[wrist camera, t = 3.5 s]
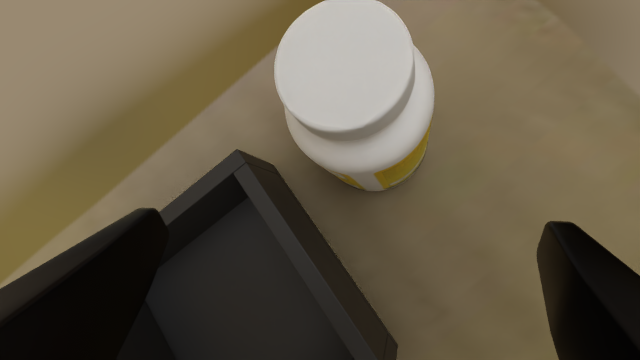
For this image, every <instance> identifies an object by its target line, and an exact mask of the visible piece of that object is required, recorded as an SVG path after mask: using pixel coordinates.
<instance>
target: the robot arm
mask: <svg viewBox="0 0 640 360" xmlns="http://www.w3.org/2000/svg"><path fill="white" fill-rule="evenodd" d="M168 240H169V229H168V228H167V226H166V224H165V222H164V221H163V219H162V217H161V215H160V214H159V212H158V211H157V210H156V209H154V208H139V209H137V210H135V211H133V212H131V213H130V214H128V215H126V216H125V217H123V218H121V219H119V220H118V221H116V222H114V223H113V224H111V225H109V226H107V227H106V228H104V229H102V230H100V231H99V232H97V233H95V234H94V235H92V236H90V237H88V238H87V239H85V240H83V241H82V242H80V243H78V244H76V245H75V246H73V247H71V248H70V249H68V250H66V251H64V252H63V253H61V254H59V255H58V256H56V257H54V258H52V259H51V260H49V261H47V262H46V263H44V264H42V265H40V266H39V267H37V268H35V269H34V270H32V271H30V272H28V273H27V274H25V275H23V276H22V277H20V278H18V279H16V280H15V281H13V282H11V283H10V284H8V285H6V286H4V287H3V288H1V289H0V360H116V358H117V356H118V354H119V352H120V350H121V348H122V346H123V344H124V342H125V340H126V338H127V336H128V334H129V332H130V330H131V328H132V325H133V323H134V321H135V319H136V317H137V315H138V313H139V311H140V309H141V307H142V305H143V303H144V301H145V299H146V297H147V295H148V292H149V290H150V288H151V285H152V283H153V280H154V277H155V275H156V272H157V269H158V267H159V264H160V261H161V259H162V256H163V253H164V251H165V248H166V245H167V243H168ZM537 262H538V268H539V273H540V279H541V284H542V290H543V295H544V300H545V306H546V311H547V317H548V322H549V327H550V331H551V335H552V338H553V342H554V345H555V348H556V352H557V355H558V358H559V360H640V276H639V275H638V274H637V273H636V272H634V271H633V270H632V269H631V268H629V267H628V266H627V265H626V264H624V263H623V262H622V261H621V260H619V259H618V258H617V257H616V256H614V255H613V254H612V253H611V252H609V251H608V250H607V249H606V248H604V247H603V246H602V245H601V244H599V243H598V242H597V241H596V240H594V239H593V238H592V237H591V236H589V235H588V234H587V233H586V232H584V231H583V230H582V229H581V228H579V227H578V226H577V225H575V224H574V223H572V222H564V221H550V222H548V223H547V224H546V225H545V227H544V230H543V233H542V236H541V239H540V242H539V245H538V248H537Z"/></svg>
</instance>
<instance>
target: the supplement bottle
mask: <svg viewBox="0 0 640 360" xmlns="http://www.w3.org/2000/svg"><path fill="white" fill-rule="evenodd" d="M274 78H275V84H276V88H277V92H278V94H279V97H280V99H281V101H282V103H283V104H284V109H285V116H286V121H287V125H288V128H289V131H290V133H291V135H292V137H293V139H294V141H295V142H296V144H297V145H298V146H299V148H300V149H301V150H302V151H303V152H304V153H305V154H306V155H307V156H308V157H309V158H310V159H311V160H313V161H314V162H315V163H317V164H318V165H320V166H321V167H323V168H324V169H326V170H327V171H329V172H330V173H332V174H333V175H335V176H336V177H337V178H339V179H340V180H342V181H343V182H345V183H347V184H348V185H350V186H352V187H355V188H358V189H361V190H366V191H383V190H388V189H391V188H394V187H396V186H398V185H400V184H402V183H403V182H405V181H406V180H407V179H409V178H410V177H411V176H412V175H413V174H414V173H415V171H416V170H417V169H418V167H419V166H420V164H421V162H422V160H423V158H424V155H425V152H426V148H427V143H428V136H429V131H430V126H431V120H432V116H433V110H434V85H433V80H432V75H431V72H430V69H429V66H428V64H427V62H426V60H425V59H424V57H423V56H422V54H421V53H420V51H419V50H418V49H417V48H416V47H415V46H414V45H413V43H412V39H411V36H410V33H409V31H408V29H407V27H406V26H405V24H404V23H403V21H402V19H401V18H400V17H399V16H398V15H397V14H396V13H395V12H394V11H393V10H392V9H390V8H389V7H387V6H386V5H384V4H382V3H381V2H378V1H376V0H326V1H323V2H321V3H319V4H317V5H315V6H313V7H311V8H310V9H308V10H307V11H306V12H304V13H303V14H302V15H300V16H299V17H298V18H297V19H296V20H295V21H294V22H293V23H292V24H291V26H290V27H289V28H288V30H287V32H286V33H285V34H284V36H283V38H282V40H281V42H280V45H279V47H278V50H277V54H276V57H275V64H274Z"/></svg>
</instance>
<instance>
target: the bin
mask: <svg viewBox="0 0 640 360" xmlns="http://www.w3.org/2000/svg"><path fill="white" fill-rule="evenodd" d="M159 214H160V215H161V217H162V219H163V221H164V222H165V224H166V226H167V228H168V229H169V240H168V243H167V245H166V248H165V251H164V253H163V256H162V259H161V261H160V264H159V267H158V269H157V272H156V275H155V277H154V280H153V283H152V285H151V288H150V290H149V292H148V295H147V297H146V299H145V301H144V303H143V305H142V307H141V309H140V311H139V313H138V315H137V317H136V319H135V321H134V323H133V325H132V328H131V330H130V332H129V334H128V336H127V338H126V340H125V342H124V344H123V346H122V348H121V350H120V352H119V354H118V356H117V358H116V360H396V356H397V348H398V345H397V343H396V342H395V340H394V339H393V337H392V336H391V334H390V333H389V332H388V330H387V329H386V327H385V326H384V324H383V323H382V321H381V320H380V319H379V317H378V316H377V314H376V313H375V311H374V310H373V308H372V307H371V306H370V304H369V303H368V301H367V300H366V298H365V297H364V295H363V294H362V293H361V291H360V290H359V288H358V287H357V285H356V284H355V282H354V281H353V279H352V278H351V277H350V275H349V274H348V272H347V271H346V269H345V268H344V266H343V265H342V264H341V262H340V261H339V259H338V258H337V256H336V255H335V253H334V252H333V251H332V249H331V248H330V246H329V245H328V243H327V242H326V240H325V239H324V238H323V236H322V235H321V233H320V232H319V230H318V229H317V227H316V226H315V225H314V223H313V222H312V220H311V219H310V217H309V216H308V214H307V213H306V212H305V210H304V209H303V207H302V206H301V204H300V203H299V201H298V200H297V199H296V197H295V196H294V194H293V193H292V191H291V190H290V188H289V187H288V185H287V184H286V183H285V181H284V180H283V178H282V177H281V175H280V174H279V172H278V171H277V170H276V168H275V167H274V165H272V164H270V163H268V162H265V161H263V160H261V159H259V158H256V157H254V156H252V155H249V154H247V153H245V152H242V151H240V150H238V149H237V150H235V151H234V152H233V153H232V154H230V155H229V156H228V157H227V158H225V159H224V160H223V161H222V162H220V163H219V164H218V165H217V166H216V167H214V168H213V169H212V170H211V171H209V172H208V173H207V174H206V175H204V176H203V177H202V178H201V179H200V180H198V181H197V182H196V183H195V184H193V185H192V186H191V187H190V188H188V189H187V190H186V191H185V192H184V193H182V194H181V195H180V196H179V197H177V198H176V199H175V200H174V201H172V202H171V203H170V204H169V205H168V206H166V207H165V208H164V209H163V210H161V211H160V212H159Z"/></svg>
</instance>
